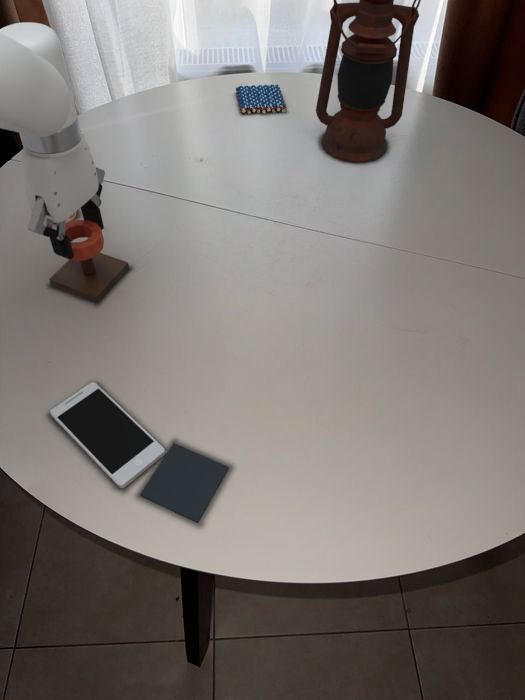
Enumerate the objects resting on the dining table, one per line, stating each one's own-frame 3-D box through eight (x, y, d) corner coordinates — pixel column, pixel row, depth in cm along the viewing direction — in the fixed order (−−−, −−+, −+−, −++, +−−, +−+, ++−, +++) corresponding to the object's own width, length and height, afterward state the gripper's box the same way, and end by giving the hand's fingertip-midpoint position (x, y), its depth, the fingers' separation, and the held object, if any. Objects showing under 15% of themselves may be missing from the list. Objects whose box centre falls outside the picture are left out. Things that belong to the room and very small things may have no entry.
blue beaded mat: (287, 113, 130) (287, 104, 128) (240, 115, 129) (240, 106, 127) (279, 91, 136) (280, 82, 135) (235, 93, 135) (234, 84, 134)
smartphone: (121, 490, 70) (120, 486, 70) (50, 415, 77) (48, 411, 76) (166, 453, 74) (166, 449, 73) (94, 384, 80) (93, 380, 80)
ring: (86, 265, 86) (82, 253, 84) (49, 252, 88) (45, 239, 86) (112, 239, 90) (109, 227, 88) (76, 227, 92) (73, 215, 90)
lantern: (392, 129, 126) (425, -27, 103) (397, 165, 117) (434, 2, 94) (312, 125, 127) (327, -32, 104) (312, 160, 118) (328, -3, 95)
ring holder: (97, 304, 91) (88, 270, 85) (51, 286, 93) (38, 252, 87) (129, 269, 96) (122, 235, 90) (84, 253, 98) (75, 218, 93)
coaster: (197, 523, 68) (197, 521, 68) (139, 495, 70) (139, 494, 70) (229, 468, 73) (228, 466, 73) (173, 443, 75) (173, 442, 75)
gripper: (68, 97, 81) (93, 204, 94) (-21, 157, 71) (22, 268, 84) (113, 109, 79) (132, 217, 93) (29, 173, 69) (64, 284, 82)
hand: (79, 240), depth 88 cm, fingers closed on ring, 6 cm apart
